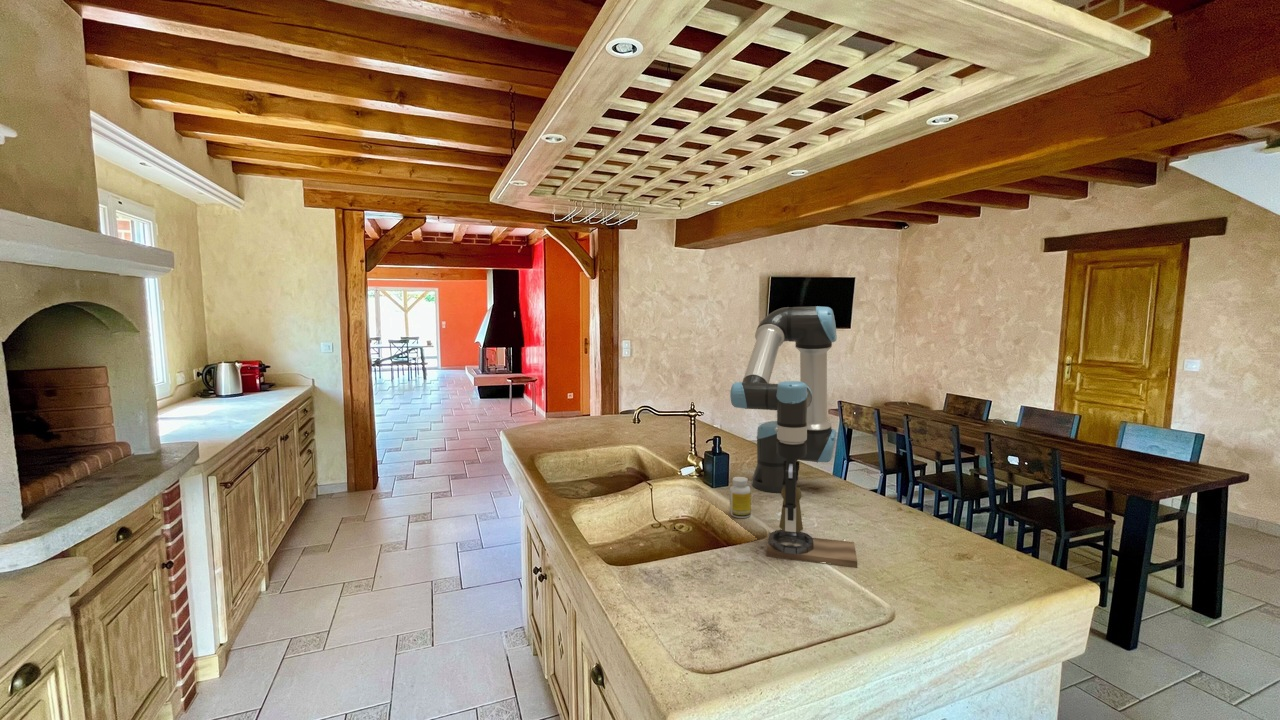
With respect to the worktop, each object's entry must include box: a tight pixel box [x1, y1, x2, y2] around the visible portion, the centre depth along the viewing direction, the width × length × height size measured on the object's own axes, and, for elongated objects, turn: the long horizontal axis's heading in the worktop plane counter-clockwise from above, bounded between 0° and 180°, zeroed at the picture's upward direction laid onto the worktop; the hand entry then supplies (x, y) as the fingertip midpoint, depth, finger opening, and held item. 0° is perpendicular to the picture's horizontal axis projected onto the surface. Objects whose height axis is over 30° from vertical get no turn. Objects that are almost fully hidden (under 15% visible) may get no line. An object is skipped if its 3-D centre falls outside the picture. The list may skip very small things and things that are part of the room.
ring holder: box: [768, 529, 814, 554], centre depth 138 cm, size 11×11×2 cm
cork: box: [779, 486, 804, 532], centre depth 137 cm, size 6×6×11 cm
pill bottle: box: [729, 476, 752, 519], centre depth 162 cm, size 6×6×12 cm
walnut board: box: [765, 532, 858, 568], centre depth 137 cm, size 11×22×2 cm, turn 72°
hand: (791, 525), depth 138 cm, fingers closed on cork, 6 cm apart
